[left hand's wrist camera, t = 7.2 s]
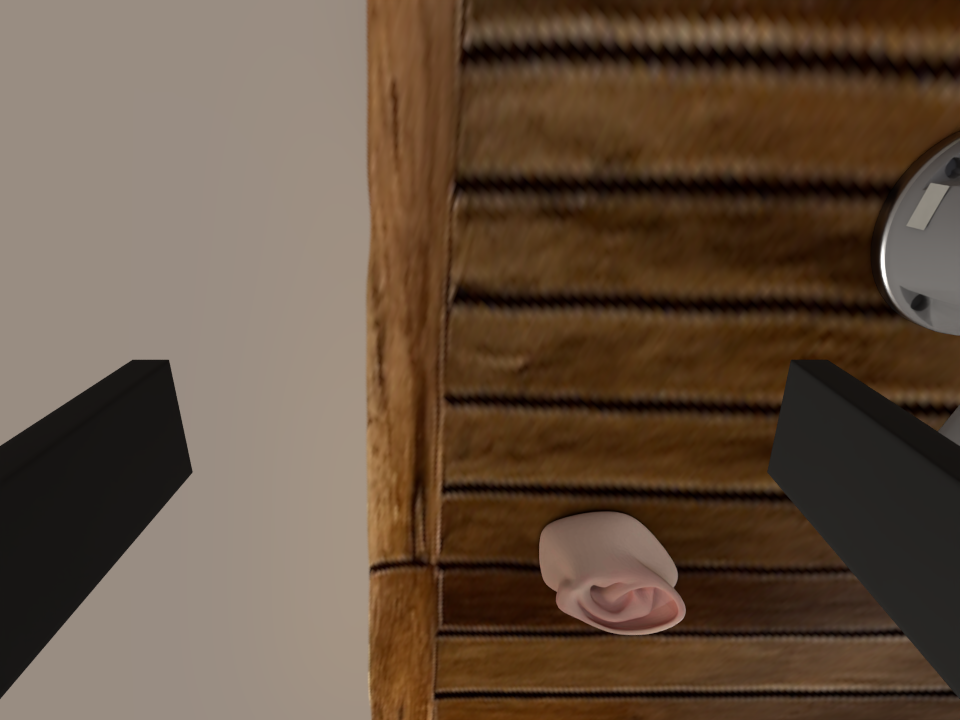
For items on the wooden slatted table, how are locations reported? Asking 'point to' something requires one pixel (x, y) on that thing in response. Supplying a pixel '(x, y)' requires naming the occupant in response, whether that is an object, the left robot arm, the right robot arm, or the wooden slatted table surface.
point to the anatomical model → (610, 573)
